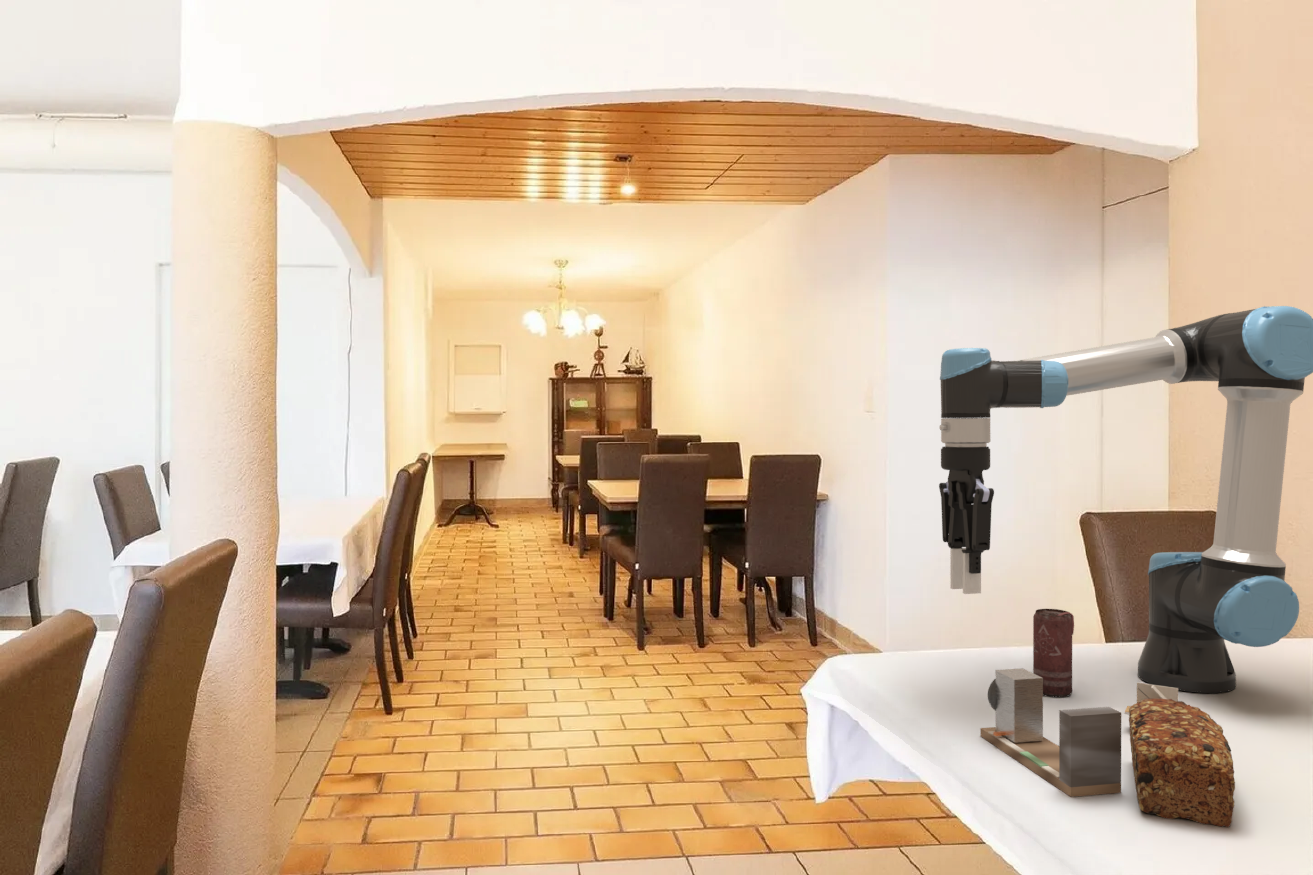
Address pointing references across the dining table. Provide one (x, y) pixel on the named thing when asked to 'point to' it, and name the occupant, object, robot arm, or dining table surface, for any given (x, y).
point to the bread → (1181, 762)
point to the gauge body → (1073, 752)
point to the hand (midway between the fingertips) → (965, 590)
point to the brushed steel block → (1017, 705)
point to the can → (1053, 650)
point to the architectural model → (1154, 693)
